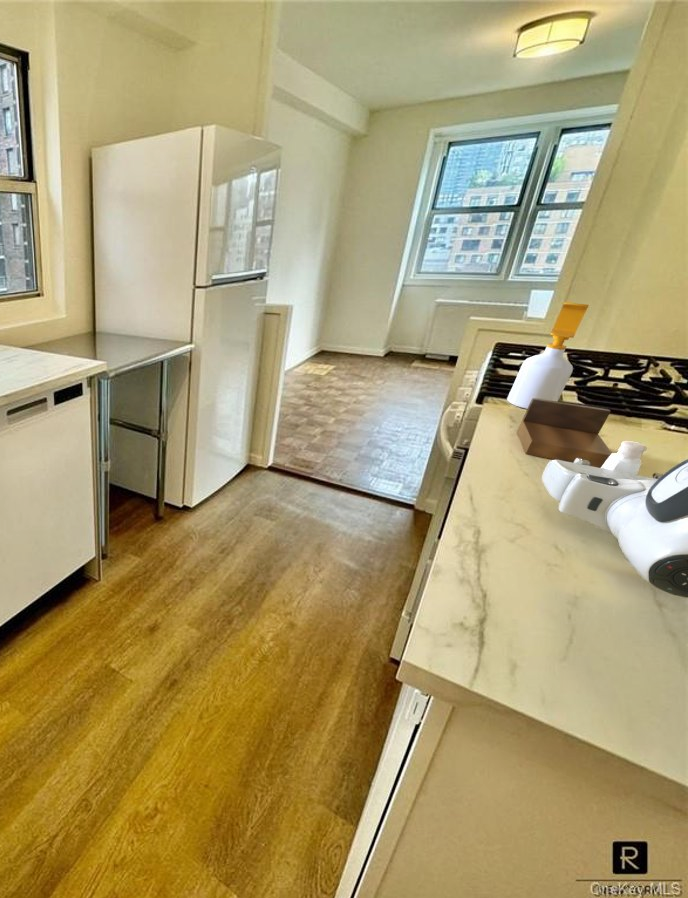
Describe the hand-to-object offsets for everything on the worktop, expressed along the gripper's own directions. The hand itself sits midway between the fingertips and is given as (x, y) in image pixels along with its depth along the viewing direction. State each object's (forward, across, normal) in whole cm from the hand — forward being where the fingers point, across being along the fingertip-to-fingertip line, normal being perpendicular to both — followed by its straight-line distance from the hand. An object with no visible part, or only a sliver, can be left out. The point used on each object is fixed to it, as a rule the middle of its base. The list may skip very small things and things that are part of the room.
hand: (617, 470), depth 79 cm
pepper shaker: (-1, 0, +6) cm, 6 cm away
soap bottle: (+47, +3, +6) cm, 48 cm away
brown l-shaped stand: (+20, +2, +6) cm, 21 cm away
